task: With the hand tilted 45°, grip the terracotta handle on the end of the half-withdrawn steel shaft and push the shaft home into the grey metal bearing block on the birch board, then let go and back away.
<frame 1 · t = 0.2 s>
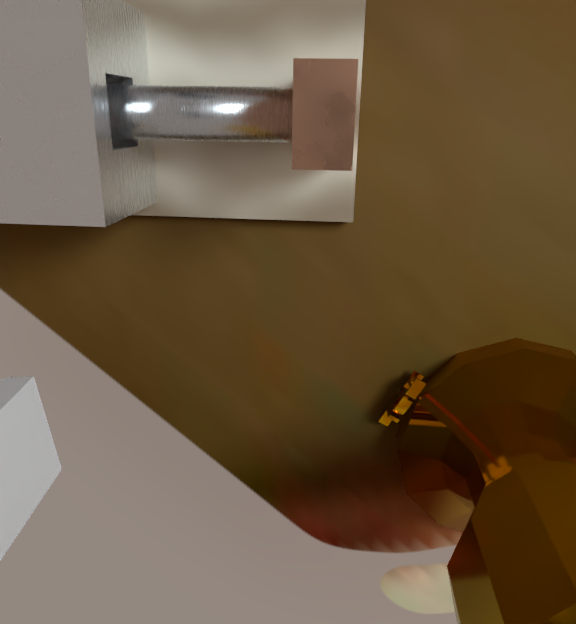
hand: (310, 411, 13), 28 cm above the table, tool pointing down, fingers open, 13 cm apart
trophy cup: (487, 429, 44), on the table
bearing block: (62, 111, 32), on the base board, point 6 cm above the table
base board: (101, 111, 37), on the table
shaft: (200, 113, 31), point 6 cm above the table, slide at 5.0 cm
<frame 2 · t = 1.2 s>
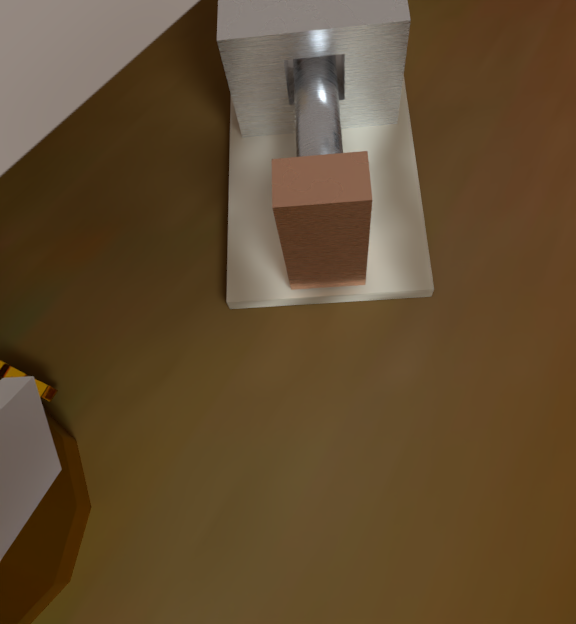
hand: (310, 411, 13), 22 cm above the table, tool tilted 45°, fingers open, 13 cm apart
bearing block: (313, 44, 38), on the base board, point 6 cm above the table
base board: (317, 102, 44), on the table
shaft: (318, 132, 34), point 6 cm above the table, slide at 5.0 cm
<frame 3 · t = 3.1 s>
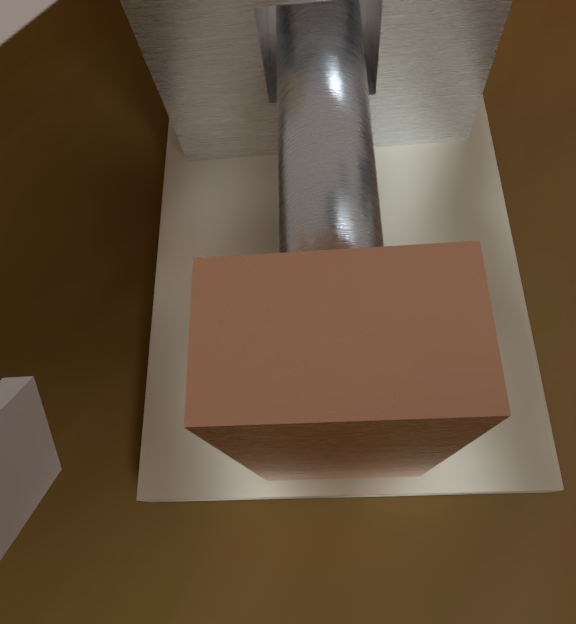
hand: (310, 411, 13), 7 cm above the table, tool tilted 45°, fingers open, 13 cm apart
base board: (321, 100, 25), on the table
shaft: (326, 162, 16), point 7 cm above the table, slide at 5.0 cm
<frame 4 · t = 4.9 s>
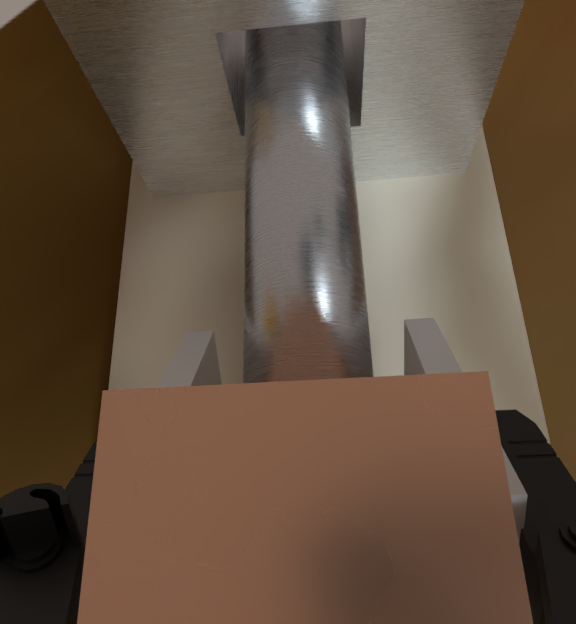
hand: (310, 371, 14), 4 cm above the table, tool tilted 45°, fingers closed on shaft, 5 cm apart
bearing block: (292, 5, 18), on the base board, point 6 cm above the table
base board: (303, 125, 23), on the table
shaft: (300, 214, 14), point 6 cm above the table, slide at 5.0 cm, touching gripper
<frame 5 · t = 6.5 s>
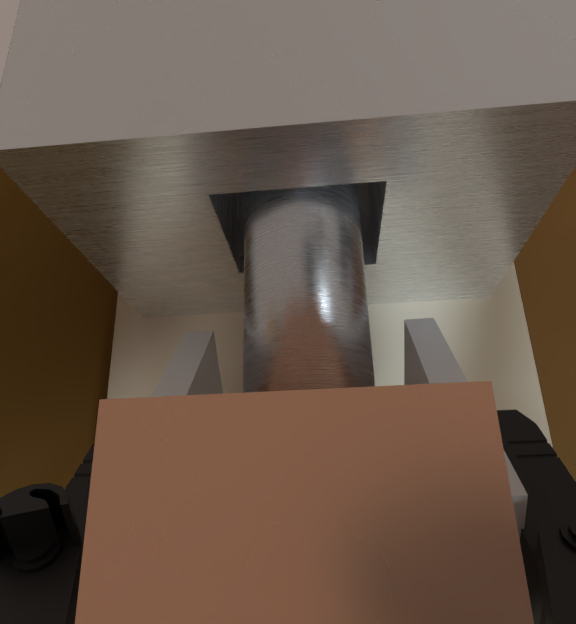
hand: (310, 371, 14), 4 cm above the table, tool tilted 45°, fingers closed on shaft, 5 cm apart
bearing block: (298, 124, 16), on the base board, point 6 cm above the table
base board: (309, 225, 21), on the table
shaft: (301, 216, 14), point 7 cm above the table, slide at -0.1 cm, touching gripper
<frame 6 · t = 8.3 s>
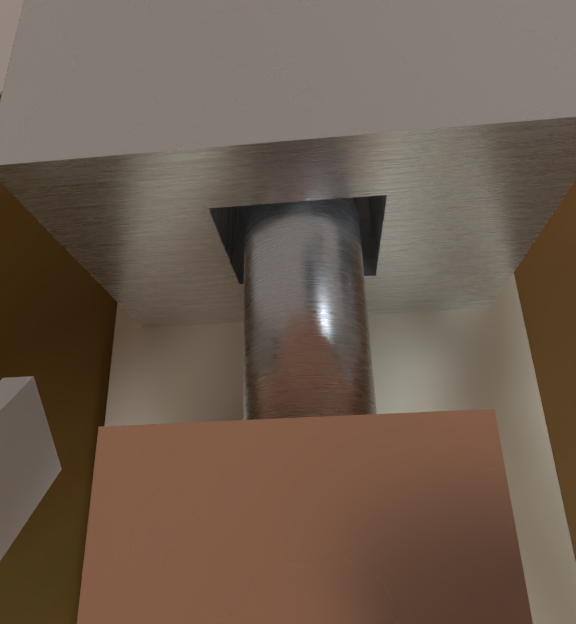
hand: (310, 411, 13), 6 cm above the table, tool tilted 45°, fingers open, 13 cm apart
bearing block: (298, 136, 16), on the base board, point 6 cm above the table
base board: (308, 235, 21), on the table
shaft: (301, 230, 13), point 6 cm above the table, slide at 0.0 cm
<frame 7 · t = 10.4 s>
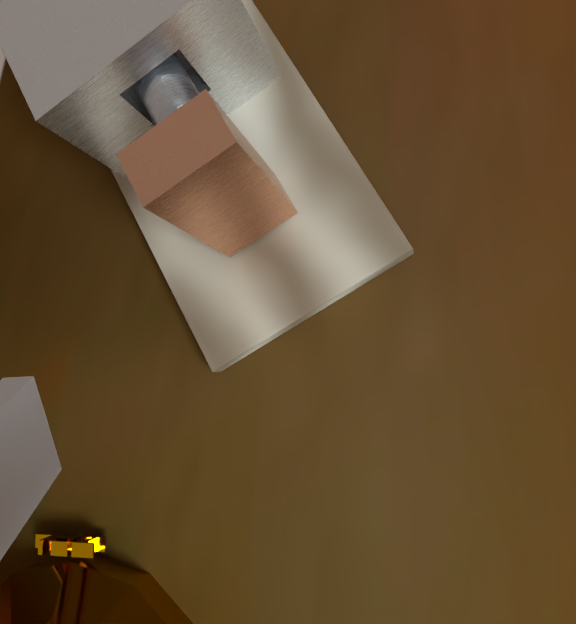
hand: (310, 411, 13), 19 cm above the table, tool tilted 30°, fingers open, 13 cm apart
bearing block: (143, 45, 31), on the base board, point 6 cm above the table
base board: (187, 95, 37), on the table
shaft: (162, 85, 30), point 6 cm above the table, slide at 0.0 cm
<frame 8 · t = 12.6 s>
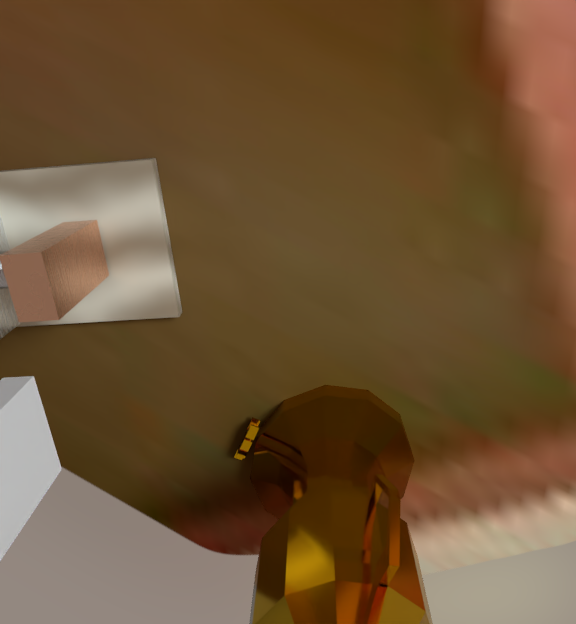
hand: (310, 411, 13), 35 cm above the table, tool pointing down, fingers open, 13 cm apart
trophy cup: (321, 453, 55), on the table
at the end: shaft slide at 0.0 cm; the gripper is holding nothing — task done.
